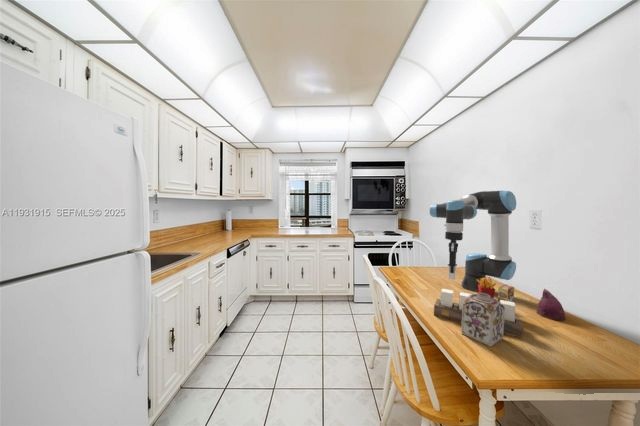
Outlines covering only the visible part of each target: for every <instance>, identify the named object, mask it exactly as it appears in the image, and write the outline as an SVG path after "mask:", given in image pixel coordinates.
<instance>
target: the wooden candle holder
mask: <svg viewBox="0 0 640 426" xmlns="http://www.w3.org/2000/svg"><path fill="white" fill-rule="evenodd" d="M433 316H436V317H440V318H442V319H443V318H444V319H447V320H452V321H456V322H458V323H459V322H460V323H462V310H459V302H458V303H456V302H454V301H453V305H452V308H451V307H446V306H442V305H441V298H440V299H439V298H437V299H436V301H435V303H434V306H433ZM523 331H524V326H523V321H522V319H521V316H518V315H517V316H516V315H515V322H512V321H507V320H504V332H503V334H506V335H510V336H514V337H517V338H518V337H519V338H521V337H522V338H523V336H524V335H523V333H524V332H523Z"/></svg>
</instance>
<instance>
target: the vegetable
mask: <svg viewBox="0 0 640 426" xmlns="http://www.w3.org/2000/svg"><path fill="white" fill-rule="evenodd" d="M536 307H537V308H536V314H537V315H539V316H541V317H542V318H546V319H549V320H553V321H560V322H561V321H565V320H566V314H565V311H564V308H563V305H562V304H561V302H560V301H559V299H558V298H557V297H556V296H555V295H554V294H552V293H551V292H550V291H549V290H548V289H546V288H544V289H543V290H542V296H541V298H540V299H539V302H538V304H537V306H536Z"/></svg>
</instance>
